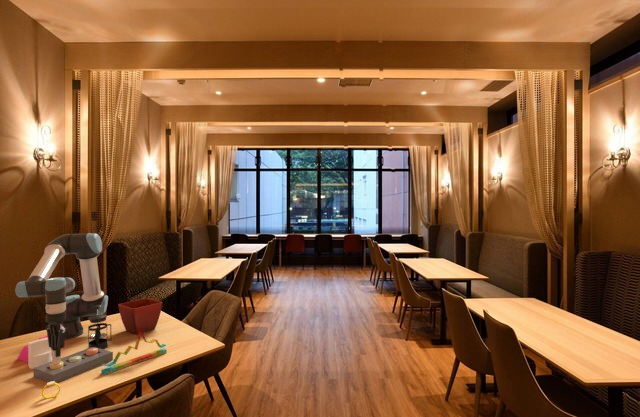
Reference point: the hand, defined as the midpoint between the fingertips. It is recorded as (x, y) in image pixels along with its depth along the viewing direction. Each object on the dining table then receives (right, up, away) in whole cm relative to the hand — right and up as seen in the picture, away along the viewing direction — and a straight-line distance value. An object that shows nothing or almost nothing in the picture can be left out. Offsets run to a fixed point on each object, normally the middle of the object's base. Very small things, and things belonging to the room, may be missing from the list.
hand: (56, 363), depth 163 cm
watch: (+12, -6, -19) cm, 23 cm away
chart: (+30, -6, +13) cm, 33 cm away
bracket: (-26, -6, +21) cm, 34 cm away
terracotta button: (+7, -3, +15) cm, 16 cm away
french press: (-1, -6, +33) cm, 33 cm away
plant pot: (+8, -6, +61) cm, 62 cm away
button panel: (+4, -6, +7) cm, 10 cm away
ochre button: (0, -3, 0) cm, 3 cm away
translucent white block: (-17, -6, +12) cm, 21 cm away
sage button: (+3, -4, +7) cm, 9 cm away
